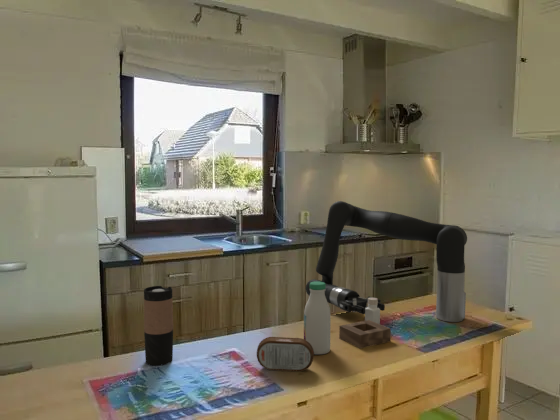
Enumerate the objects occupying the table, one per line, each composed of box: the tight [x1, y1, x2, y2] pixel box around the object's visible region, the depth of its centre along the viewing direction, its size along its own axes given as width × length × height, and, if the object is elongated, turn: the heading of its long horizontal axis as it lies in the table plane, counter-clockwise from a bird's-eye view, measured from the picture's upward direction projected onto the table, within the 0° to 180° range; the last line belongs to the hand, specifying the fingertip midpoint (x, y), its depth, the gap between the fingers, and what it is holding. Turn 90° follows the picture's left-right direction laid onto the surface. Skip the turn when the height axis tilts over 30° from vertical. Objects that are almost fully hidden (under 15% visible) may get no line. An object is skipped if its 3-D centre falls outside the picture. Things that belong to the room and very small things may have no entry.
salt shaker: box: [364, 297, 381, 325], centre depth 158 cm, size 4×4×10 cm
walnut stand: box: [338, 320, 392, 349], centre depth 145 cm, size 12×10×4 cm
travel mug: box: [143, 285, 174, 367], centre depth 128 cm, size 8×8×20 cm
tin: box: [256, 336, 315, 372], centre depth 123 cm, size 15×3×8 cm, turn 84°
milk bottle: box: [303, 281, 331, 356], centre depth 136 cm, size 8×8×20 cm
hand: (374, 309), depth 158 cm, fingers open, 8 cm apart
